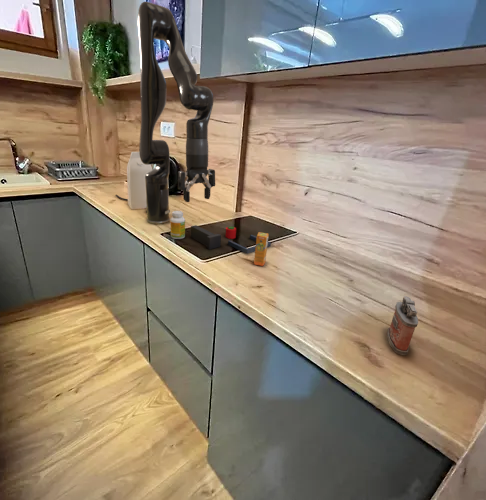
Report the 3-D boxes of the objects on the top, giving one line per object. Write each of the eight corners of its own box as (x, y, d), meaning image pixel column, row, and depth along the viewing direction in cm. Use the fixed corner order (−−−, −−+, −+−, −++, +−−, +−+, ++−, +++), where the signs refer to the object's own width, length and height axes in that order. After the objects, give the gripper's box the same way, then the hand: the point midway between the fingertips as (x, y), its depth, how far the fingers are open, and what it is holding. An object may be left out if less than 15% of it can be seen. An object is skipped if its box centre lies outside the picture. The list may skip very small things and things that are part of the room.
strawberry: (223, 236, 118) (223, 226, 116) (231, 234, 120) (231, 225, 119) (230, 239, 115) (230, 229, 114) (237, 237, 117) (238, 227, 116)
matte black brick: (187, 237, 115) (187, 226, 113) (198, 235, 118) (198, 224, 116) (209, 249, 105) (209, 237, 103) (220, 246, 108) (221, 234, 106)
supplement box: (253, 264, 95) (255, 234, 91) (255, 260, 98) (258, 231, 94) (263, 266, 94) (266, 236, 90) (265, 262, 97) (269, 233, 93)
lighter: (384, 328, 68) (396, 290, 64) (401, 332, 67) (414, 293, 63) (392, 352, 61) (405, 311, 57) (410, 356, 60) (426, 314, 56)
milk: (151, 201, 161) (148, 150, 151) (156, 207, 151) (153, 153, 141) (127, 203, 156) (123, 150, 146) (131, 209, 147) (126, 153, 136)
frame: (227, 244, 110) (228, 240, 110) (251, 238, 117) (251, 234, 117) (246, 253, 103) (247, 249, 103) (270, 246, 110) (271, 242, 110)
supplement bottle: (182, 240, 112) (182, 214, 109) (168, 238, 113) (168, 213, 110) (186, 235, 117) (186, 210, 114) (173, 233, 118) (173, 209, 114)
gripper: (207, 151, 109) (207, 196, 115) (172, 152, 100) (174, 200, 106) (220, 153, 103) (219, 199, 110) (185, 154, 95) (186, 205, 101)
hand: (197, 200), depth 108 cm, fingers open, 8 cm apart
